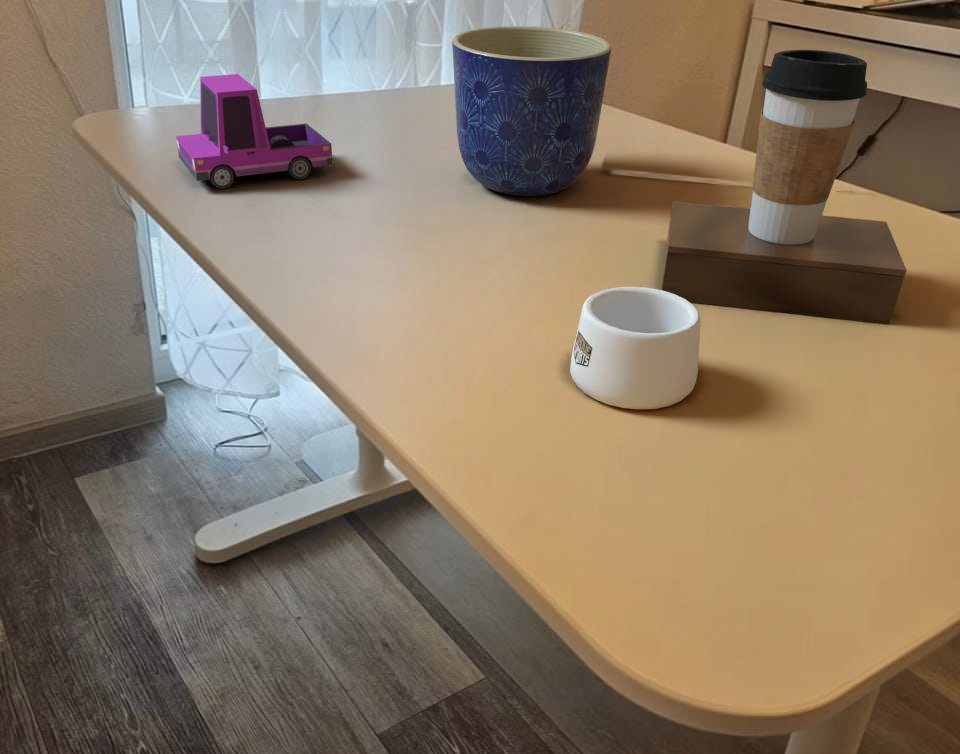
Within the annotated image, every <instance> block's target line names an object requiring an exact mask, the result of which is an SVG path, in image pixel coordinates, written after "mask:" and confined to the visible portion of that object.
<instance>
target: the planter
mask: <svg viewBox="0 0 960 754" xmlns="http://www.w3.org/2000/svg"><path fill="white" fill-rule="evenodd" d="M451 45H452V64H453V67H452V68H453V81H454V101H455V119H456V120H455V121H456V135H457V144H458V149H459V152H460V156H461V159H462V162H463V164H464V166H465V168H466V169H467V171H468V172H469V174H470V175H471V176H472V178H474V179H475V181H477V182H478V183H479V184H481V185H482V186H483V187H485V188H487V189H489V190H491V191H494V192H496V193H500V194H505V195H511V196H516V197H517V196H518V197H539V196H540V197H541V196H546V195H551V194H552V195H553V194H555V193H558V192H561V191H563V190H565V189H567V188H568V187H571V186H572V185H573V184H574V183H576V182H577V180H579V178H580V177H581V176H582V175H583V174H584V172H585V171H586V169H587V167H588V165H589V163H590V162H591V158H592V156H593V154H594V150H595V146H596V141H597V136H598V131H599V125H600V120H601V119H600V118H601V114H602V107H603V101H604V96H605V95H604V94H605V89H606V83H607V78H608V71H609V65H610V59H611V53H612V45H611V43H610V42H609V41H607V40H606V39H604V38H602V37H600V36H597V35H595V34H590V33H586V32H582V31H577V30H571V29H565V28H556V27H546V26H531V25H529V26H528V25H504V26H488V27H480V28H474V29H469V30H465V31H462V32H460V33H457V34H456V35H455V36H454V37H453V38H452V41H451Z"/></svg>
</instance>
